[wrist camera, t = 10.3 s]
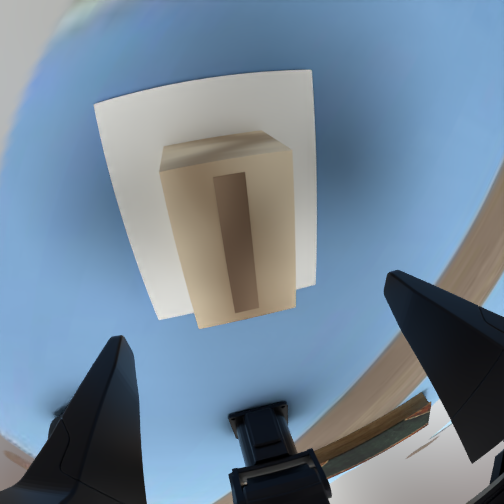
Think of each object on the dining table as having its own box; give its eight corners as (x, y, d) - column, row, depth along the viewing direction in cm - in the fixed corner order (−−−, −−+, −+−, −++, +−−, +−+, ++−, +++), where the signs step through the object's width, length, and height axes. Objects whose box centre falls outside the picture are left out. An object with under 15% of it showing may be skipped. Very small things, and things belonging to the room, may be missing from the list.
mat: (311, 278, 22) (315, 284, 21) (158, 312, 20) (158, 320, 20) (305, 69, 14) (311, 69, 14) (97, 103, 13) (93, 104, 12)
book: (422, 387, 43) (293, 456, 44) (432, 402, 40) (299, 473, 42) (421, 413, 53) (320, 468, 54) (428, 425, 50) (325, 481, 51)
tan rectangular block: (261, 130, 15) (292, 150, 11) (271, 259, 19) (296, 307, 16) (163, 146, 14) (159, 172, 11) (191, 276, 19) (199, 329, 15)
